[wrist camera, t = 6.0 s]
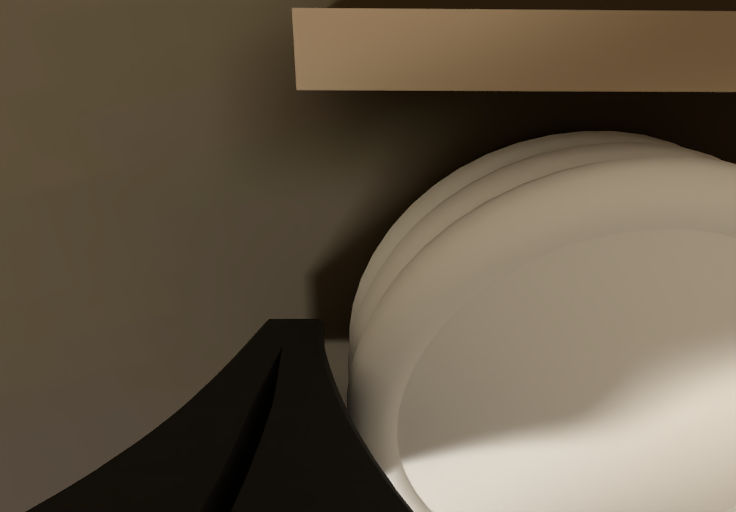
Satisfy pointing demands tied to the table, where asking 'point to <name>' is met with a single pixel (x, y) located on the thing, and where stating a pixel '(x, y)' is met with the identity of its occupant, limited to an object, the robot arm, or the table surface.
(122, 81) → the table surface
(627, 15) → the coaster rack
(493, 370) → the coaster
